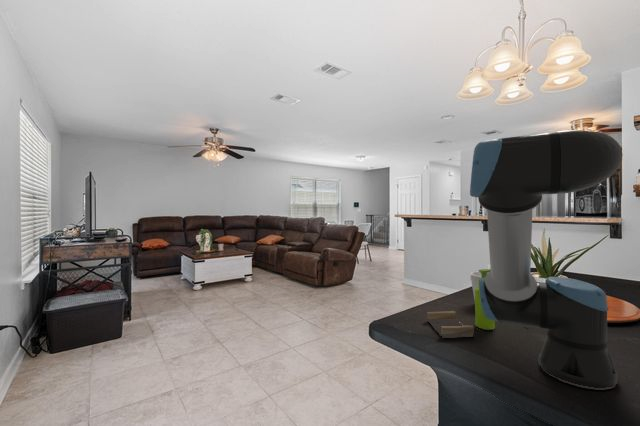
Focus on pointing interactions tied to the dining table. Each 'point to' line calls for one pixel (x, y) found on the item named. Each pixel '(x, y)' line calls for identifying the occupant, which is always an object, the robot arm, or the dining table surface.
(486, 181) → the robot arm
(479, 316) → the soap dispenser
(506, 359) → the dining table surface
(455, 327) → the cradle
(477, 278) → the foam cup
